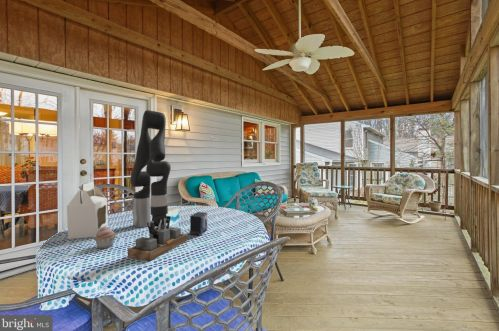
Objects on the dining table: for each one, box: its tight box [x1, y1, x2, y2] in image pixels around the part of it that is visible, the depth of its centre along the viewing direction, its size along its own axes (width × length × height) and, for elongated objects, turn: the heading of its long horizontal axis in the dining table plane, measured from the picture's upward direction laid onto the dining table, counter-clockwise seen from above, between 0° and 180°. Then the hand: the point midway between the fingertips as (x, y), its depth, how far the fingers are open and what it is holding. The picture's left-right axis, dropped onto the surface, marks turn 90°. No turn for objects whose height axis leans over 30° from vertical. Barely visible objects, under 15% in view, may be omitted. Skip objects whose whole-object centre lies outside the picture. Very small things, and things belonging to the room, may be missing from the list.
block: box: [149, 228, 170, 245], centre depth 123 cm, size 8×4×6 cm, turn 69°
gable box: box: [66, 181, 109, 240], centre depth 148 cm, size 22×13×28 cm, turn 13°
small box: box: [189, 211, 208, 236], centre depth 148 cm, size 11×6×10 cm, turn 168°
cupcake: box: [93, 226, 117, 249], centre depth 126 cm, size 9×9×10 cm
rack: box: [127, 226, 188, 262], centre depth 123 cm, size 12×26×7 cm, turn 159°
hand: (159, 240), depth 123 cm, fingers closed on block, 4 cm apart
